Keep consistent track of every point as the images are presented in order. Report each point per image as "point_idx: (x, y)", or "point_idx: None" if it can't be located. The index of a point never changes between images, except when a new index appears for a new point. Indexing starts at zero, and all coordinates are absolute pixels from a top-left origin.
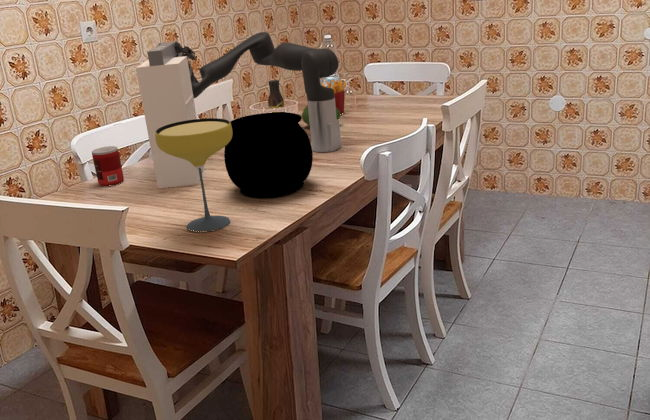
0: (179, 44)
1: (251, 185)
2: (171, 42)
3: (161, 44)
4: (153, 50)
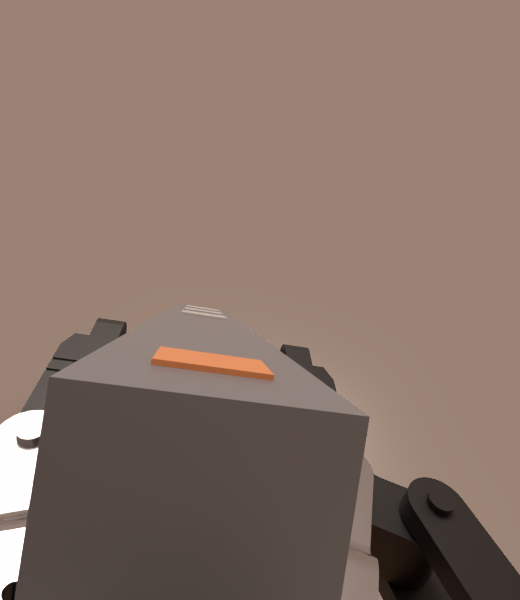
0: (69, 350)
1: None
2: (169, 338)
3: (250, 337)
4: (208, 308)
